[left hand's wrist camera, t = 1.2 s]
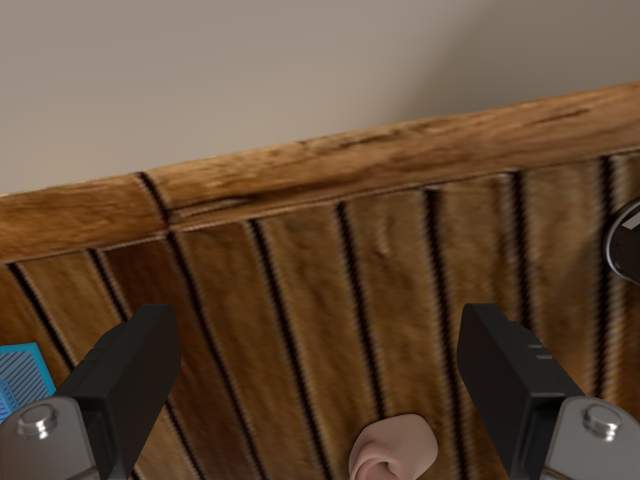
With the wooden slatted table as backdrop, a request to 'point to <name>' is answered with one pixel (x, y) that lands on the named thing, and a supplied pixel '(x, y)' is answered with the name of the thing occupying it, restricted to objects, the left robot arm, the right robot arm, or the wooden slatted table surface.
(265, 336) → the wooden slatted table surface
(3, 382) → the model building
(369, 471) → the anatomical model
